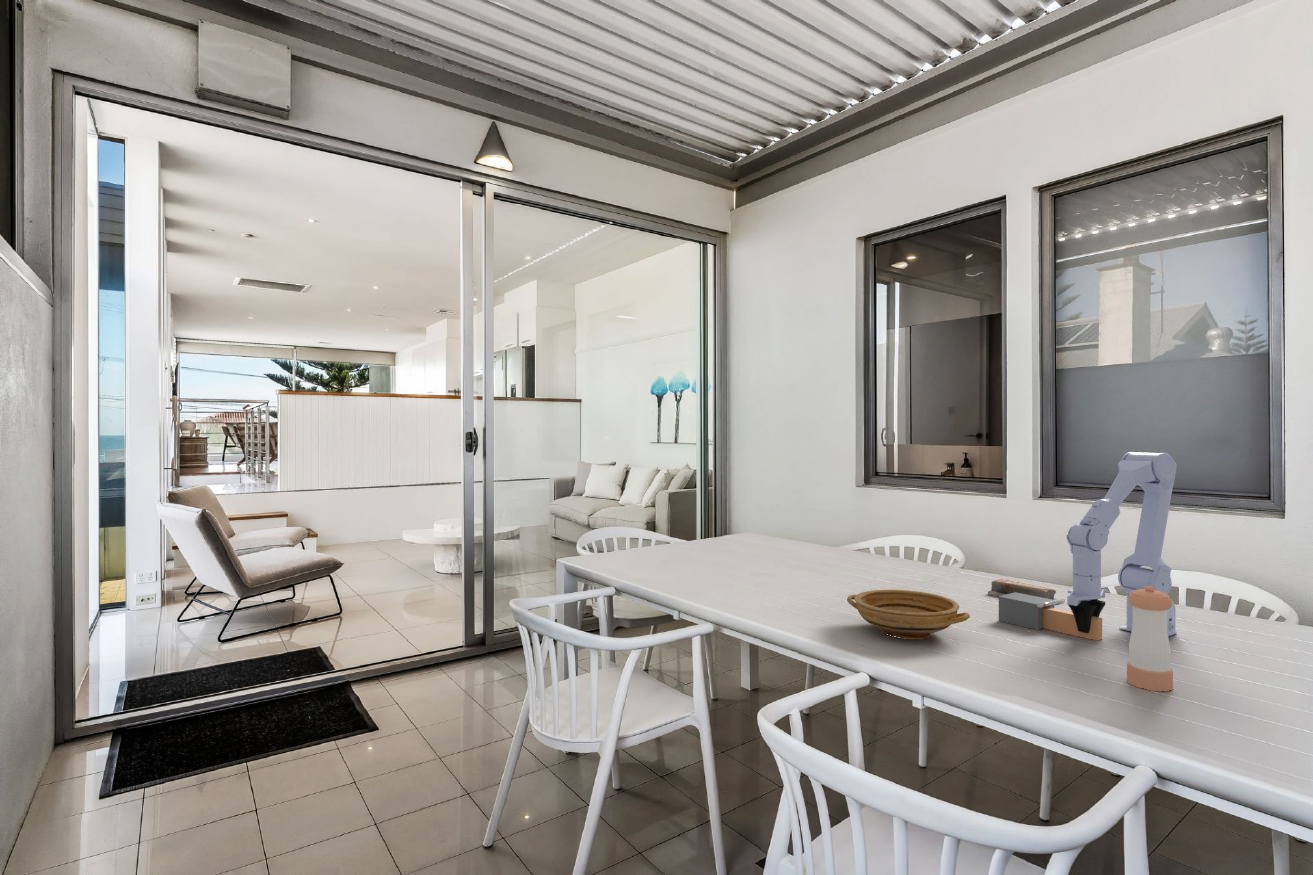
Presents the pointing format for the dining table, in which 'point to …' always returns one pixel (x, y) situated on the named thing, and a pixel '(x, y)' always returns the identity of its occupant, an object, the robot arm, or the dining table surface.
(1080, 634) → the orange rectangular bar
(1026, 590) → the packaged product
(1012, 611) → the grey plain boxy block
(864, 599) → the ceramic bowl
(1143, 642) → the salt shaker
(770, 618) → the dining table surface
